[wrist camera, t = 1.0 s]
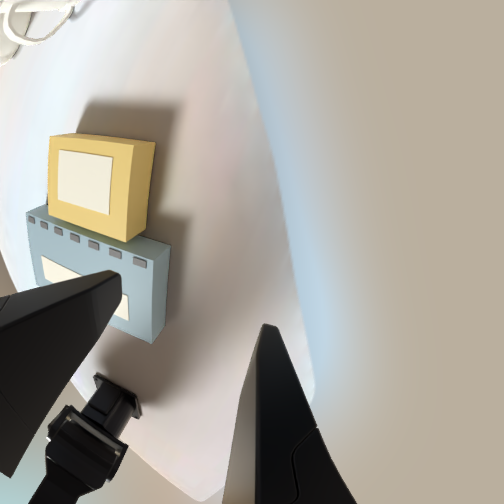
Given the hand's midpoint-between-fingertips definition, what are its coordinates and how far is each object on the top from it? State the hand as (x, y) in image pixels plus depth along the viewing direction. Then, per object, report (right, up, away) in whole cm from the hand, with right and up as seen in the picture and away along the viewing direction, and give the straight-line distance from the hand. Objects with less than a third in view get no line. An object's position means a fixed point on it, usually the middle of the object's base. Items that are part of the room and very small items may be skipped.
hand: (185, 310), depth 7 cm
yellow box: (-9, +7, +10) cm, 15 cm away
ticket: (-11, +1, +13) cm, 17 cm away
